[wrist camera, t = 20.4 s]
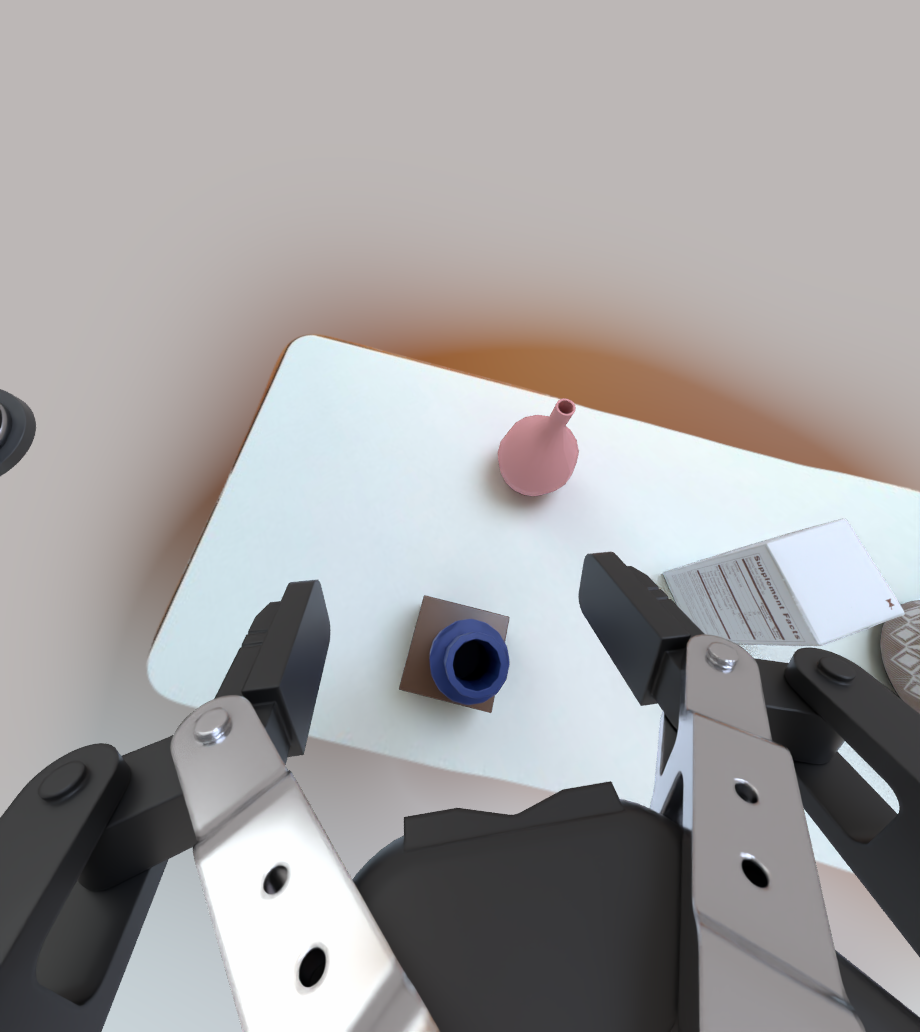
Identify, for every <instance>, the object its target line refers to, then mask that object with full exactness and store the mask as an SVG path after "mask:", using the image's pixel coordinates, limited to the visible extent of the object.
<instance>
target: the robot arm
mask: <svg viewBox="0 0 920 1032" xmlns="http://www.w3.org/2000/svg"><path fill="white" fill-rule="evenodd" d="M11 426H12V419H11V415H10V412H9V410H8V409H7V408H6V407H5V405H3V404H2V403H1V402H0V448H1V447H2V446H3V445H4V443H5V442H6V440H7V438H8V436H9V434H10V431H11ZM579 604H580V608H581V610H582V613H583V614H584V616H585V618H586V619H587V621H588V622H589V624H590V626H591V627H592V629H593V630H594V632H595V634H596V635H597V637H598V638H599V640H600V642H601V643H602V645H603V646H604V648H605V649H606V651H607V653H608V654H609V656H610V657H611V659H612V661H613V662H614V664H615V665H616V667H617V669H618V670H619V672H620V673H621V675H622V677H623V678H624V680H625V681H626V683H627V685H628V686H629V688H630V689H631V691H632V692H633V694H634V696H635V697H636V699H637V700H638V702H639V704H640V705H641V706H643V705H650V704H657V703H658V704H659V706H660V707H661V709H662V710H663V712H662V715H661V718H660V728H659V739H658V751H657V763H656V774H655V785H654V791H653V796H652V800H651V804H650V808H647V807H645V806H642V805H640V804H637V803H634V802H630V801H627V800H622V799H619V797H618V795H617V793H616V791H615V789H614V786H613V784H612V782H611V781H610V782H605V783H599V784H593V785H587V786H581V787H576V788H570V789H564V790H561V791H559V792H558V793H556V794H554V795H552V796H550V797H549V798H546V799H545V800H543V801H541V802H539V803H537V804H536V805H534V806H532V807H530V808H528V809H526V810H524V811H522V812H521V813H518V814H515V815H507V814H499V813H492V812H484V811H476V810H469V809H462V808H454V809H448V810H443V811H437V812H431V813H425V814H419V815H413V816H408V817H404V836H402V837H400V838H398V839H396V840H394V841H393V842H391V843H390V844H388V845H387V846H386V847H384V848H383V849H381V850H380V851H379V852H378V853H377V854H376V855H375V856H373V857H372V858H371V859H370V860H369V861H368V862H367V863H366V864H365V865H364V866H363V868H362V869H361V870H360V871H359V872H358V873H357V874H356V876H355V877H354V878H353V880H352V878H351V877H350V875H349V873H348V871H347V870H346V868H345V866H344V864H343V863H342V861H341V859H340V857H339V855H338V853H337V852H336V850H335V848H334V847H333V845H332V843H331V841H330V839H329V838H328V836H327V834H326V832H325V830H324V829H323V827H322V825H321V823H320V821H319V820H318V818H317V816H316V814H315V813H314V811H313V809H312V808H311V806H310V804H309V802H308V800H307V798H306V797H305V795H304V793H303V791H302V789H301V788H300V786H299V784H298V782H297V781H296V779H295V777H294V775H293V774H292V772H291V771H288V769H287V768H286V766H285V765H286V761H287V757H291V756H298V755H303V754H304V751H305V746H306V742H307V738H308V733H309V729H310V725H311V720H312V716H313V712H314V707H315V703H316V699H317V694H318V690H319V685H320V681H321V677H322V672H323V668H324V664H325V659H326V655H327V651H328V646H329V642H330V621H329V617H328V613H327V609H326V604H325V600H324V596H323V592H322V588H321V584H320V582H319V581H318V580H310V581H299V582H290V583H289V584H288V586H287V588H286V590H285V593H284V595H283V597H282V600H281V601H279V602H270V603H269V604H268V605H267V606H266V607H265V608H264V609H263V610H262V611H261V612H260V613H259V614H258V615H257V616H256V617H255V619H254V621H253V623H252V625H251V627H250V629H249V631H248V635H246V637H245V639H244V641H243V643H242V648H240V649H239V651H238V653H237V655H236V657H235V659H234V661H233V663H232V665H231V667H230V669H229V671H228V673H227V675H226V677H225V679H224V681H223V683H222V685H221V687H220V689H219V691H218V693H217V695H216V697H215V698H214V700H211V701H209V702H207V703H205V704H203V705H202V706H200V707H199V708H197V709H196V710H195V711H193V712H192V713H191V714H190V715H189V716H188V717H186V718H185V719H184V721H183V722H182V723H181V724H180V725H179V727H178V728H177V730H176V731H175V733H174V735H172V736H170V737H168V738H166V739H163V740H161V741H159V742H156V743H153V744H150V745H148V746H145V747H143V748H141V749H138V750H136V751H133V752H130V753H128V754H125V755H123V756H121V755H120V754H119V753H118V751H117V750H116V748H115V747H113V746H112V745H109V744H102V743H100V744H93V745H89V746H85V747H82V748H79V749H77V750H74V751H72V752H70V753H68V754H66V755H64V756H63V757H61V758H59V759H58V760H56V761H54V762H53V763H51V764H50V765H49V766H47V767H46V768H45V769H43V770H42V771H41V772H40V773H38V774H37V775H36V776H35V777H34V778H33V779H32V780H31V781H30V782H29V783H28V784H27V785H26V786H25V787H24V788H23V789H22V791H21V792H20V793H19V794H18V795H17V797H16V798H15V799H14V801H13V802H12V803H11V805H10V806H9V807H8V809H7V810H6V811H5V813H4V814H3V815H2V816H1V818H0V1032H101V1031H102V1029H103V1026H104V1023H105V1021H106V1018H107V1015H108V1013H109V1011H110V1008H111V1006H112V1002H113V1000H114V998H115V995H116V992H117V990H118V988H119V985H120V982H121V980H122V977H123V975H124V972H125V969H126V967H127V964H128V962H129V959H130V957H131V954H132V951H133V949H134V946H135V944H136V941H137V939H138V936H139V934H140V931H141V928H142V925H143V923H144V921H145V918H146V916H147V913H148V910H149V908H150V905H151V903H152V900H153V897H154V895H155V893H156V890H157V887H158V885H159V882H160V880H161V877H162V875H163V872H164V869H165V867H166V864H167V862H168V859H169V858H171V857H173V856H175V855H177V854H179V853H181V852H183V851H185V850H187V849H189V848H191V847H193V855H194V859H195V864H196V868H197V871H198V875H199V878H200V882H201V885H202V889H203V892H204V896H205V900H206V903H207V907H208V910H209V914H210V917H211V920H212V924H213V928H214V931H215V935H216V939H217V942H218V945H219V949H220V953H221V956H222V960H223V963H224V967H225V970H226V974H227V977H228V981H229V985H230V988H231V992H232V995H233V999H234V1002H235V1006H236V1009H237V1013H238V1016H239V1020H240V1024H241V1027H242V1031H243V1032H920V1017H918V1016H917V1015H916V1014H915V1013H914V1012H912V1011H911V1010H910V1009H908V1008H907V1007H906V1006H905V1005H903V1004H902V1003H901V1002H900V1001H899V1000H897V999H896V998H895V997H894V996H892V995H891V994H890V993H888V992H887V991H886V990H885V989H883V988H882V987H881V986H880V985H878V984H877V983H876V982H875V981H873V980H872V979H871V978H870V977H868V976H867V975H866V974H865V973H864V972H862V971H861V970H860V969H859V968H857V967H856V966H855V965H853V964H852V963H851V962H850V961H848V960H847V959H846V958H845V957H843V956H842V955H841V954H840V953H838V952H837V951H836V950H835V948H834V943H833V939H832V934H831V930H830V925H829V921H828V916H827V912H826V907H825V903H824V898H823V894H822V890H821V886H820V880H819V876H818V871H817V867H816V862H815V858H814V853H813V849H812V844H811V840H810V835H809V831H808V826H807V822H806V817H805V813H804V809H805V810H806V812H807V813H808V814H809V816H810V817H811V818H812V819H813V821H814V822H815V823H816V825H817V826H818V827H819V828H820V830H821V831H822V832H823V834H824V835H825V836H826V837H827V839H828V840H829V841H830V843H831V844H832V845H833V846H834V848H835V849H836V850H837V852H838V853H839V854H840V855H841V857H842V858H843V859H844V861H845V862H846V863H847V864H848V866H849V867H850V868H851V870H852V871H853V872H854V873H855V875H856V876H857V877H858V879H859V880H860V881H861V882H862V884H863V885H864V886H865V888H866V889H867V890H868V891H869V893H870V894H871V895H872V897H873V898H874V899H875V900H876V901H877V903H878V904H879V905H880V907H881V908H882V909H883V911H884V912H885V913H886V914H887V916H888V917H889V918H890V920H891V921H892V922H893V924H894V925H895V926H896V927H897V929H898V930H899V931H900V932H901V934H902V935H903V936H904V938H905V939H906V940H907V941H908V943H909V944H910V945H911V947H912V948H913V949H914V951H915V952H916V953H917V954H918V956H919V957H920V714H919V713H918V712H917V711H916V710H914V709H913V708H912V707H910V706H909V705H908V704H907V703H905V702H904V701H903V700H902V699H900V698H899V697H898V696H897V695H895V694H894V693H893V692H891V691H890V690H889V689H888V688H886V687H885V686H884V685H883V684H881V683H880V682H879V681H878V680H876V679H875V678H874V677H873V676H871V675H870V674H869V673H867V672H866V671H865V670H864V669H862V668H861V667H859V666H858V665H857V664H855V663H853V662H852V661H850V660H848V659H846V658H844V657H842V656H840V655H837V654H835V653H832V652H829V651H826V650H822V649H817V648H801V649H799V650H797V651H796V652H795V653H794V655H793V657H792V658H791V660H790V662H789V663H783V662H776V661H769V660H761V659H754V658H753V657H752V656H751V655H750V654H749V653H748V652H747V651H746V650H744V649H743V648H742V647H740V646H739V645H737V644H735V643H734V642H732V641H729V640H727V639H725V638H722V637H718V636H714V635H706V634H704V633H703V632H702V631H701V630H700V629H699V628H698V627H697V626H696V625H695V624H694V623H693V622H692V620H691V619H690V618H689V617H688V616H687V615H686V614H685V613H684V612H683V611H682V610H681V609H680V608H679V607H678V606H677V605H676V604H675V603H674V602H673V601H672V600H671V599H668V596H667V595H666V594H665V593H664V592H663V591H662V590H661V589H659V587H658V586H657V585H656V584H655V583H654V582H653V581H652V580H651V579H650V578H649V577H648V576H647V575H646V574H644V573H642V572H641V571H639V570H637V569H635V568H634V567H632V566H626V565H625V564H624V563H623V562H622V561H621V559H620V558H619V557H618V556H617V555H616V554H615V553H613V552H603V553H593V554H587V555H586V556H585V559H584V564H583V570H582V576H581V582H580V588H579ZM844 741H846V742H847V743H848V744H849V745H850V746H851V747H852V748H853V749H854V750H855V751H856V752H857V753H858V754H859V755H860V756H861V757H862V758H863V759H864V760H865V761H866V762H867V763H868V764H869V765H870V766H871V767H872V768H873V769H874V770H875V771H876V772H877V773H878V774H879V775H880V776H881V777H882V778H883V779H884V780H885V781H886V782H887V783H888V785H889V786H890V787H891V788H892V790H893V791H894V793H895V795H896V797H897V799H898V802H899V806H900V810H899V813H898V814H897V813H896V812H895V811H894V810H893V809H892V808H891V807H890V806H889V805H888V804H887V803H886V802H885V801H884V799H883V798H882V797H881V796H880V795H879V794H878V793H877V792H876V791H875V790H874V789H873V788H872V787H871V786H870V785H869V784H868V783H867V782H866V781H865V780H864V779H863V778H862V777H861V776H860V775H859V773H858V772H857V771H856V770H855V769H854V768H853V767H852V766H851V765H850V764H849V763H848V762H847V761H846V760H845V759H844V758H843V757H842V756H841V755H840V754H839V753H838V752H837V751H838V749H839V748H840V747H841V745H842V744H843V743H844Z"/></svg>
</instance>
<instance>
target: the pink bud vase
mask: <svg viewBox="0 0 920 1032" xmlns="http://www.w3.org/2000/svg"><path fill="white" fill-rule="evenodd" d="M575 409H576V408H575V405H574V403H573V402H572V401H571V400H569V399H560V400H559V401H558V402H557V403H556V405H555V407H554V409H553V411H552V413H551V415H550V417H549V416H542V415H534V416H529V417H525V418H523V419H521V420H520V421H518V422H516V423H515V424H514V425H513V427H512V428H511V429H510V430H509V432H508V433H507V434H506V435H505V437H504V438H503V439H502V440H501V442H500V446H499V450H498V461H499V467H500V471H501V474H502V476H503V478H504V480H505V482H506V483H507V484H508V485H509V486H510V487H511V488H512V489H513V490H514V491H517V492H519V493H521V494H523V495H529V496H538V495H543V494H547V493H550V492H554V491H556V490H557V489H559V488H560V487H562V486H563V485H565V484H566V482H567V481H568V479H569V478H570V476H571V475H572V473H573V470H574V468H575V465H576V463H577V458H578V453H579V451H578V445H577V440H576V439H575V437H574V435H573V434H572V432H571V430H570V429H569V428H568V427H566V424H567V423H568V421H569V420H570V418H571V416H572V415H573V413H574V412H575Z"/></svg>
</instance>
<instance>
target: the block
mask: <svg viewBox="0 0 920 1032" xmlns="http://www.w3.org/2000/svg"><path fill="white" fill-rule="evenodd" d="M466 619H475V620H478V621H482V622H486V623H487V624H489V625H490V626H491V627H492V628H494V629H495V630H496V631H498V633H499V634H500V635H501V637H502V639H503V641H504V642H505V639H506V634H507V628H508V623H509V617H508V616H504V615H500V614H496V613H492V612H488V611H484V610H480V609H477V608H473V607H469V606H465V605H461V604H457V603H453V602H449V601H445V600H441V599H437V598H433V597H429V596H425V595H424V597H423V601H422V605H421V609H420V612H419V616H418V620H417V623H416V627H415V631H414V635H413V638H412V642H411V646H410V649H409V653H408V657H407V661H406V664H405V668H404V672H403V675H402V679H401V683H400V687H399V690H403V691H407V692H411V693H415V694H419V695H423V696H427V697H430V698H434V699H438V700H442V701H446V702H450V703H454V704H458V705H462V706H466V707H470V708H473V709H477V710H481V711H485V712H489V713H491V712H492V707H493V702H494V697H495V695H494V696H493V697H491V698H490V699H488V700H487V701H485V702H483V703H478V704H472V705H465V704H461V703H458V702H454V701H452V700H450V699H449V698H448V697H447V696H445V695H444V694H443V693H442V692H441V691H440V690H439V689H438V687H437V685H436V683H435V681H434V680H433V678H432V675H431V669H430V659H429V658H430V649H431V646H432V642H433V640H434V638H435V637H436V636H437V634H438V633H439V632H440V631H441V630H443V629H444V628H446V627H447V626H449V625H451V624H452V623H454V622H455V621H459V620H466Z"/></svg>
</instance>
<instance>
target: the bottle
mask: <svg viewBox="0 0 920 1032" xmlns="http://www.w3.org/2000/svg"><path fill="white" fill-rule="evenodd" d="M429 659H430V669H431V675H432V678H433V680H434V681H435V683H436V685H437V687H438V689H439V690H440V691H441V692H442V693H443V694H444V695H445V696H447V697H448V698H449V699H450V700H452V701H454V702H458V703H461V704H465V705H472V704H478V703H483V702H485V701H487V700H488V699H490V698H491V697H493V696H494V695H496V694H497V693H498V691H499V690H500V688H501V687H502V685H503V684H504V682H505V681H506V679H507V674H508V669H509V656H508V650H507V646H506V644H505V642H504V641H503V639H502V637H501V635H500V634H499V633H498V631H496V630H495V629H494V628H492V627H491V626H490V625H489V624H487V623H486V622H482V621H478V620H475V619H466V620H459V621H455V622H454V623H452V624H451V625H449V626H447V627H446V628H444V629H443V630H441V631H440V632H439V633H438V634H437V636H436V637H435V638H434V640H433V642H432V646H431V649H430V658H429Z"/></svg>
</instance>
